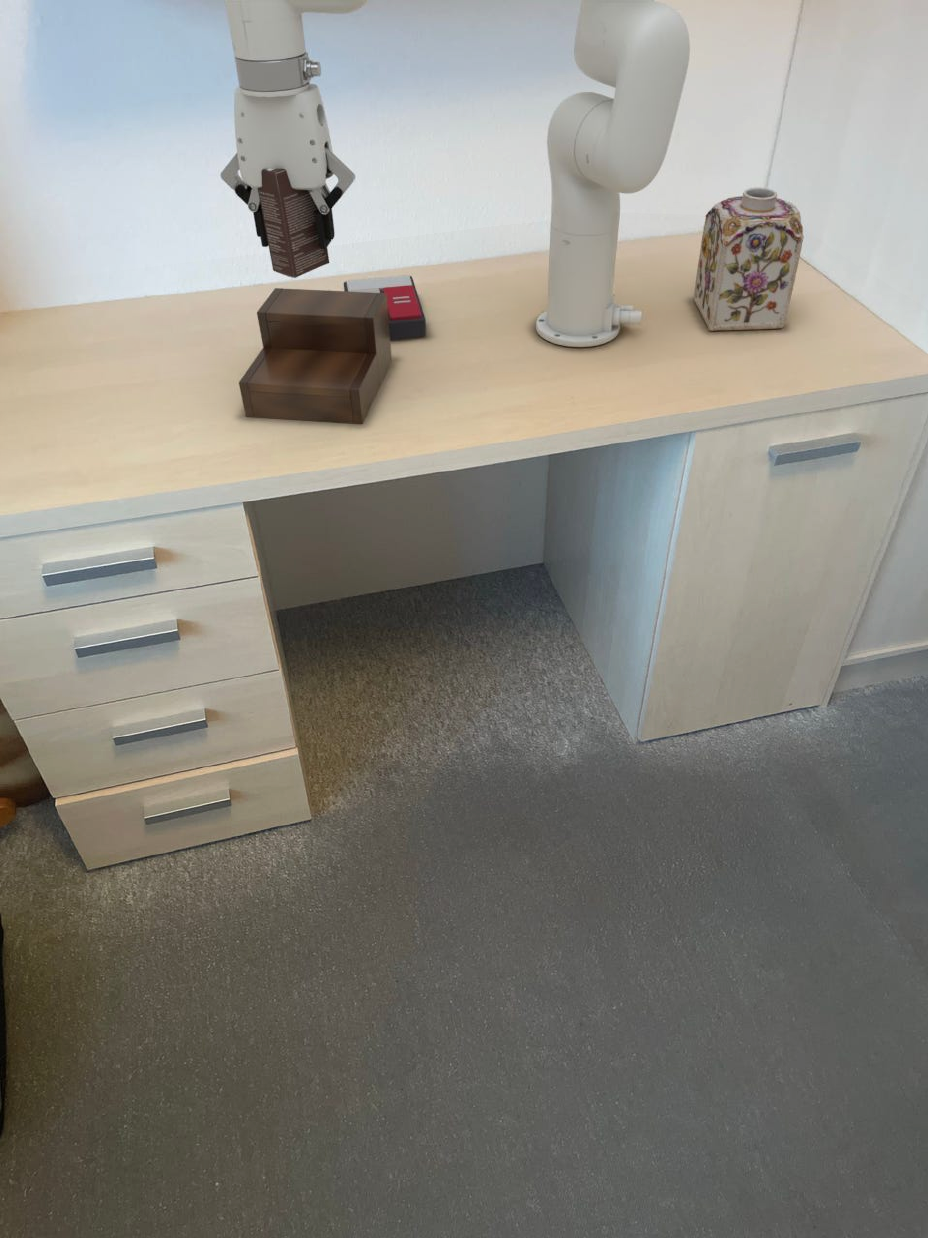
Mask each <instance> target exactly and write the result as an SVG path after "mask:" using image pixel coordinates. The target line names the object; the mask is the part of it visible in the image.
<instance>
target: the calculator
mask: <svg viewBox="0 0 928 1238" xmlns="http://www.w3.org/2000/svg"><path fill="white" fill-rule="evenodd" d="M343 290H344V291H348V292H370V293H386V294H387V307H388V319H389V331H390V342H392V341H401V340H411V339H412V340H413V339H421V338H422V339H423V338H426V337H427V324H426V316H425V313H424V310H423V306H422V304H421V300H420V298H419V295H418V291H417V288H416V284H415V282H414V279H413V276H412V275H409V274H403V275H402V274H401V275H392V276H379V277H370V278H358V279H347V280H346V281H344V282H343Z"/></svg>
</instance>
